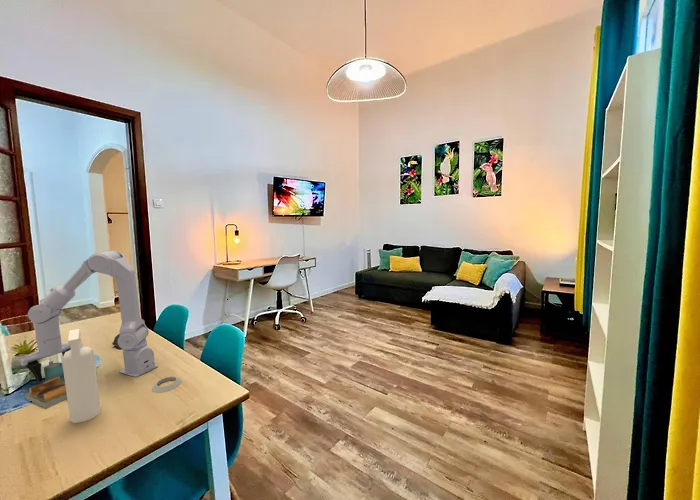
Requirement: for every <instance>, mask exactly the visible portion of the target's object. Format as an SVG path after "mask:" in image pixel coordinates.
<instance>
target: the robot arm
mask: <svg viewBox="0 0 700 500" xmlns="http://www.w3.org/2000/svg"><path fill="white" fill-rule="evenodd" d="M95 273H99V274H104V275H108V276H110V277H112V278H114V279H115V281H116V288H117V294H118V295H117V296H118V302H119V303H118V304H119V311H120V316H121V317H120V319H121V325H120V326H119V334H120V336H119V338H118V345H119V347H120V348H122V349H121V350H122V354H123V355H122V356H123V365H124V367H123V369H120V370H119V371H118V372H119V373H121V374H125V375H128V376H130V377H133V378H137V377H140V376H141V375H143V374H146V373H147V372H149V371H152V370H154V369H156V368H158V367H159V366H158V365H157V364H156V362H155V353H154V350H153V349H152V348H150V347H149V346H148V342H147V339H146V338H147V337H148V336H149V328H148V327H147V325H146V324H145V323H146V322H145V320H144V319H142V318H141V314H140V313H141V312H140V305H139V297H138V291H137V289H138V288H137V281H136V272H135V270H134V268H133V267H132V265H131V264H130V263H129V262H128V261H127V259H126V256H125V255H124V254H123V253H120V252H119V251H118V250H117V251H116V250H113V249H110V250H106V251H103V252H95V253H93V254H91V255H90V256H89V257H88V258H87V259H85V260H84V261H83V262H82V264H81V265H80V266H79V268H77V270H76V271H74V273H72V276H71V277H69V278H68V280H67V281H66V282H64V284H62V285H61V284H60V285H57V286H54V287H51V288H50V289H49V293H48V294H47V295H46V296H45V298H41V299H40V300H39V304H37V305H33V306H32V307H30V308H29V310H28V312H27V318H28V319H29V320H30V321H31V322H33V324H34V331H35V338H36V343H37V344H36V345H37V352H35V353H32V354H30V355H27V356H25V357H23V358H19V364H20V365H21V367H22V366H23V367H25V368H27V369H28V370H29V371H30V372H31V374H32V375H33V376H34V378H35V381H36V382H37V383H43V374H42V363H40V362H39V361H40V360H43V359H45V358H49V357H52V356H55V355H57V354H60V353H61V354H62V357H63V356H64V354H65V352H67V351H69V350H71V344H69V345H68V343H64V344H63V342H62V336H61V327H60V318H59V317H60V315H61V313H62V311H63V308H65V307H66V305H68V303H69V302H70V301H71V300H73V298H74V297H75V296H76V291H75V290H76V289H78V288H79V287H80V285H83V284H84V282H85V281H86V280H87V279H89V278H90V277H91V275H92V274H95Z"/></svg>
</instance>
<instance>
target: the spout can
mask: <svg viewBox="0 0 700 500" xmlns="http://www.w3.org/2000/svg"><path fill="white" fill-rule="evenodd" d="M43 373H44V379H45V380H44V381H45V382H46V381H49V380H51V379H54V378H56V377H60V379H61V380H62V379H64V372H63V364H62V362H54V361H53V360H50V361H48V365H46V366H44V367H43Z"/></svg>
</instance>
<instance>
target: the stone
mask: <svg viewBox="0 0 700 500" xmlns="http://www.w3.org/2000/svg"><path fill="white" fill-rule="evenodd" d="M119 336H120V333H118V334H117V335H116V336H115V337H114V339H113V342H112V343H111V344H112V345H113V346H116V348H118V349H119V350H123V349H122V348H120V347H119V345H118V338H119Z"/></svg>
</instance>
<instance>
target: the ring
mask: <svg viewBox="0 0 700 500" xmlns="http://www.w3.org/2000/svg"><path fill="white" fill-rule="evenodd" d="M170 381H174V382H172V383H170V384H167V385H162V386H159V385H160V384H163V383H165V382H170ZM180 385H182V379H180V378H179V377H176V376H167V377H163V378H161V379H159V380H157V382H156V383H155V384H153V386H152V387H151V392H152V393H155V394H162V393H163V394H164V393H167V392H170V391H172V390H174V389H176V388H178V387H179V386H180Z"/></svg>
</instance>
